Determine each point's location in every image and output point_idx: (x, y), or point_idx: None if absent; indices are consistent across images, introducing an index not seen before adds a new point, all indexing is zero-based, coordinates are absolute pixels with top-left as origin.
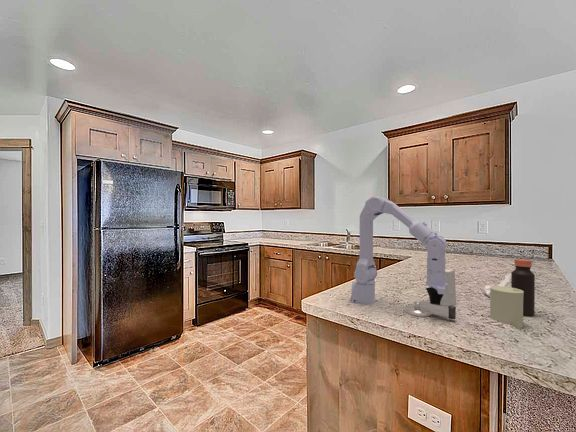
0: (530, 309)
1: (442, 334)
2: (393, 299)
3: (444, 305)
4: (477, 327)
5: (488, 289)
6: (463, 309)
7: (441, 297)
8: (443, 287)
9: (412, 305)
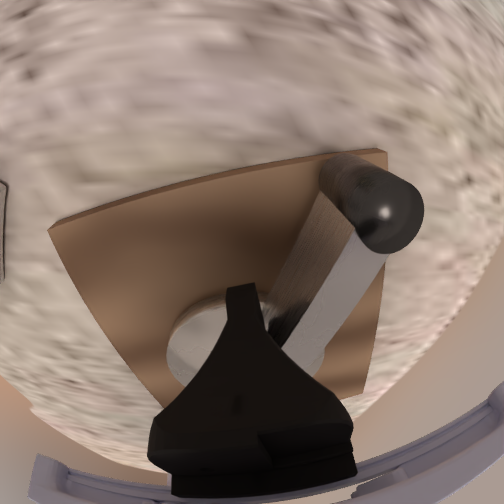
0: None
1: (459, 232)
2: (66, 389)
3: (332, 279)
4: (304, 13)
5: None
6: None
7: (290, 360)
8: (487, 458)
9: (182, 383)
